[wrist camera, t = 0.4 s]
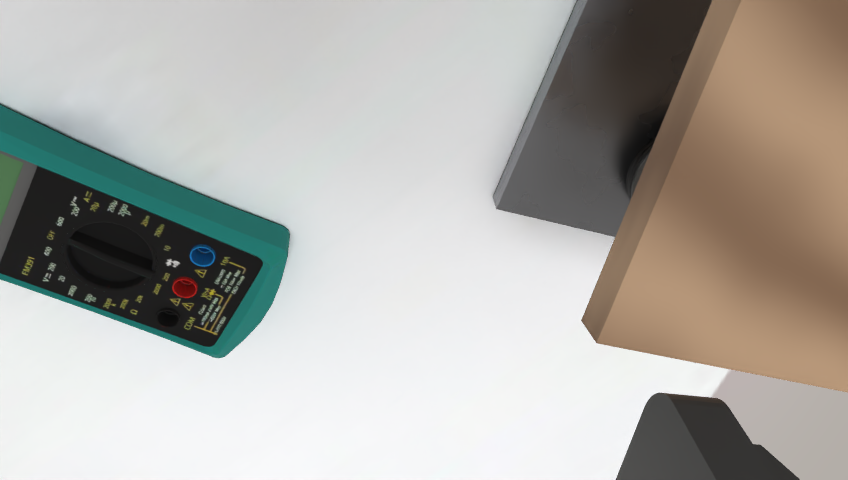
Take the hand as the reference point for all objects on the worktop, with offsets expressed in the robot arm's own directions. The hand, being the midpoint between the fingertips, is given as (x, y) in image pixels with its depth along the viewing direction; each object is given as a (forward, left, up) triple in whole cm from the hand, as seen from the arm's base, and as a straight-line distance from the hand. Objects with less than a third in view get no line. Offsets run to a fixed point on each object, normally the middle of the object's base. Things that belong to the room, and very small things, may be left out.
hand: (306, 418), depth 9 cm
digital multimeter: (+16, -1, -24) cm, 29 cm away
